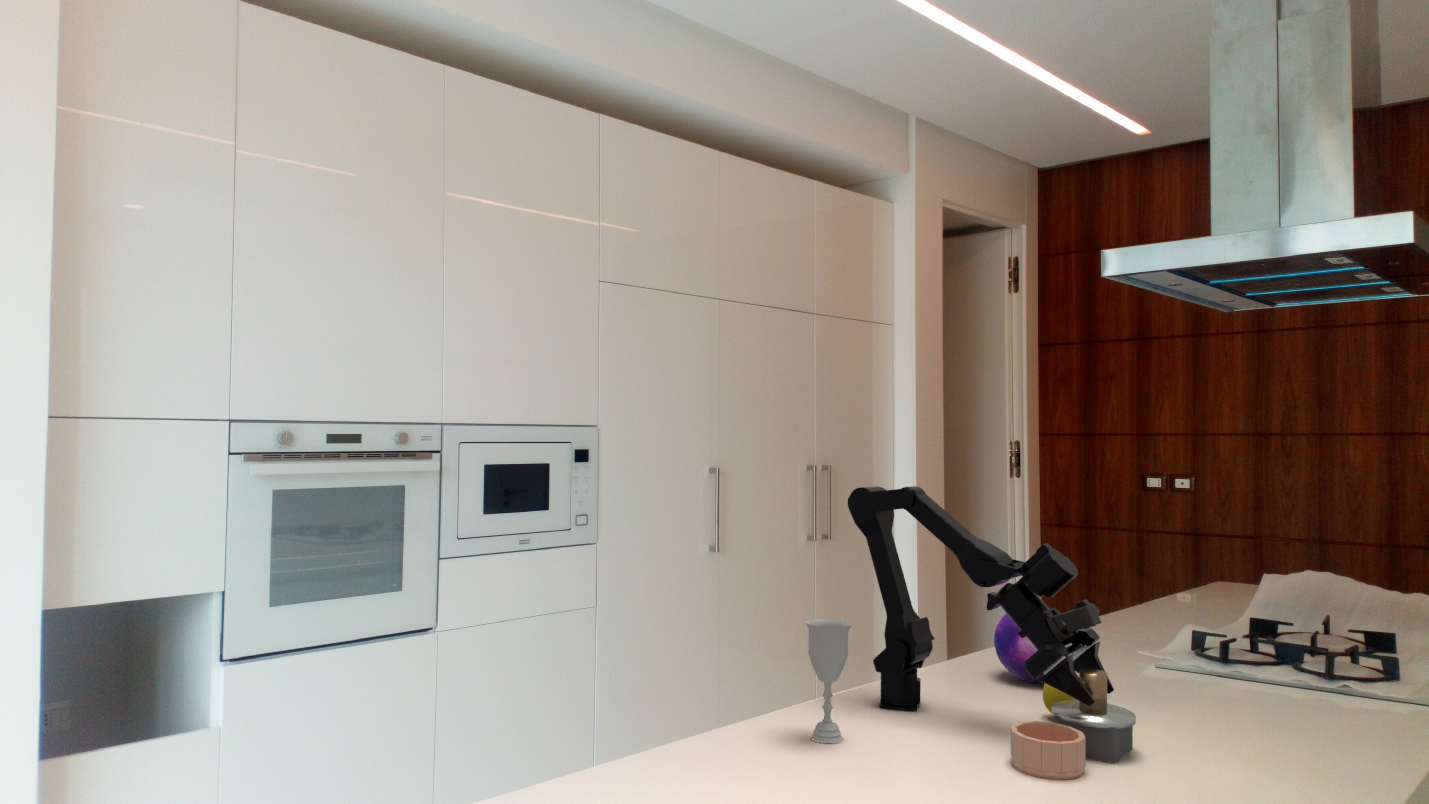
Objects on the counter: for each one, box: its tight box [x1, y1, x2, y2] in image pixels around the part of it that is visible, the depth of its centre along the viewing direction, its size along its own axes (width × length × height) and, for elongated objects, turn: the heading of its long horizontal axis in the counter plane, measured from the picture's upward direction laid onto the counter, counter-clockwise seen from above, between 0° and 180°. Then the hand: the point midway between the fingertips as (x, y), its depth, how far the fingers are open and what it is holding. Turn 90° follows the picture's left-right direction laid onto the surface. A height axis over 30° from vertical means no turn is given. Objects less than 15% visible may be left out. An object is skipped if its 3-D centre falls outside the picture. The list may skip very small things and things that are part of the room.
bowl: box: [1010, 720, 1086, 780], centre depth 132 cm, size 10×10×5 cm
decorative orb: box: [993, 612, 1045, 684], centre depth 180 cm, size 15×15×15 cm
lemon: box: [1042, 683, 1077, 714], centre depth 155 cm, size 6×6×8 cm
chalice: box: [805, 618, 853, 744], centre depth 143 cm, size 7×7×18 cm
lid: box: [1051, 669, 1137, 729], centre depth 140 cm, size 12×12×7 cm
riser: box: [1052, 715, 1134, 765], centre depth 140 cm, size 9×9×5 cm
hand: (1102, 697), depth 139 cm, fingers open, 9 cm apart
